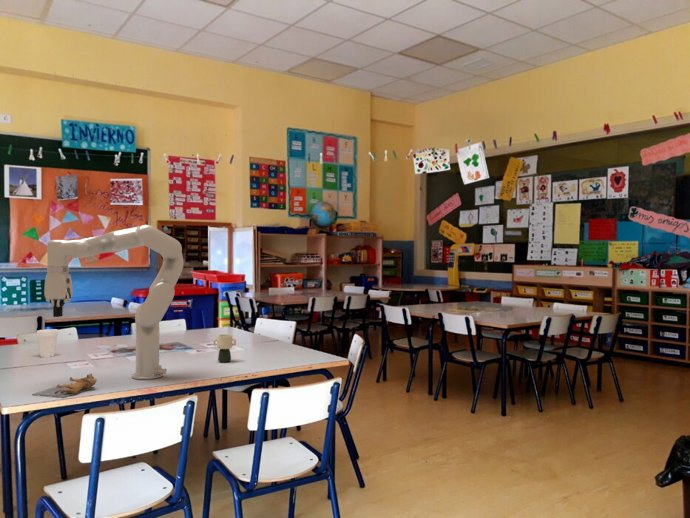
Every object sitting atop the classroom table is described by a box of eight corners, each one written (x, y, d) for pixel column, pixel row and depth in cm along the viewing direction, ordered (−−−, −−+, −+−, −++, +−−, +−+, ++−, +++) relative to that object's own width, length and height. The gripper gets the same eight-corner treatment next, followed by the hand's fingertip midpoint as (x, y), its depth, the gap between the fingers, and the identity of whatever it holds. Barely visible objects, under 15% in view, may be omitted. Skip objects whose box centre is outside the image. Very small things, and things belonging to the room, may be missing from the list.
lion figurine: (76, 369, 219) (98, 373, 218) (77, 381, 221) (98, 385, 220) (52, 387, 205) (75, 391, 204) (53, 400, 207) (76, 404, 206)
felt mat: (94, 387, 220) (94, 386, 220) (63, 397, 204) (63, 396, 204) (64, 385, 223) (64, 384, 223) (32, 395, 208) (32, 394, 208)
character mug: (236, 360, 277) (237, 334, 277) (234, 363, 270) (235, 336, 270) (214, 360, 277) (214, 334, 276) (211, 363, 269) (212, 336, 269)
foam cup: (48, 358, 279) (48, 332, 279) (32, 357, 281) (32, 331, 281) (61, 354, 289) (61, 329, 288) (46, 354, 290) (46, 328, 290)
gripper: (80, 270, 227) (80, 316, 227) (49, 270, 231) (49, 314, 231) (66, 271, 219) (66, 318, 220) (35, 270, 223) (35, 316, 223)
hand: (57, 316), depth 225 cm, fingers closed
